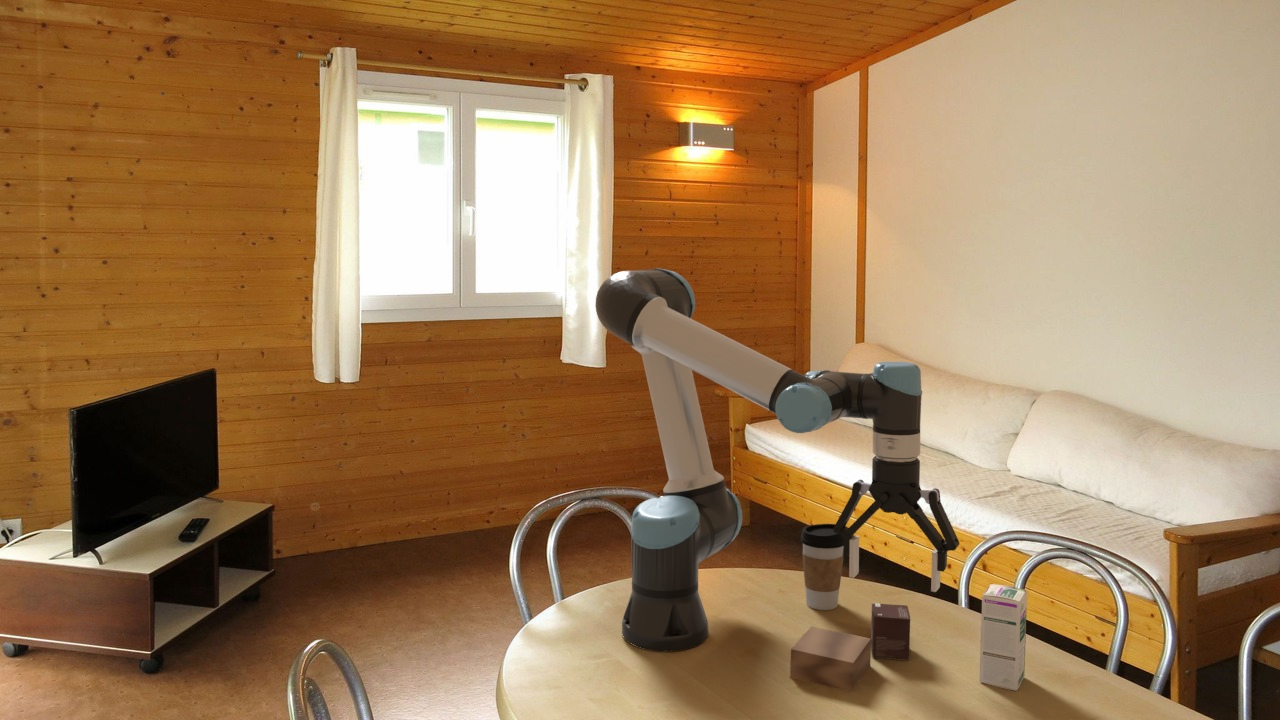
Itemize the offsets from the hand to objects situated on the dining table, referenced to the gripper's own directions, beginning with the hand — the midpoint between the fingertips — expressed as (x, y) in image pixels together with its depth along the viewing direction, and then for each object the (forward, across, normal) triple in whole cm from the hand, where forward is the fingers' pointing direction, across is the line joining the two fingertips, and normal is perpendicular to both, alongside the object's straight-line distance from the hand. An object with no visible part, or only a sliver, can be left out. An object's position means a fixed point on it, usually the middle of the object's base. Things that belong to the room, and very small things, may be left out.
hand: (893, 582), depth 154 cm
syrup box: (+13, +18, -1) cm, 22 cm away
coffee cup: (+12, -18, +14) cm, 26 cm away
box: (+12, 0, 0) cm, 13 cm away
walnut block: (+12, -6, -12) cm, 19 cm away
